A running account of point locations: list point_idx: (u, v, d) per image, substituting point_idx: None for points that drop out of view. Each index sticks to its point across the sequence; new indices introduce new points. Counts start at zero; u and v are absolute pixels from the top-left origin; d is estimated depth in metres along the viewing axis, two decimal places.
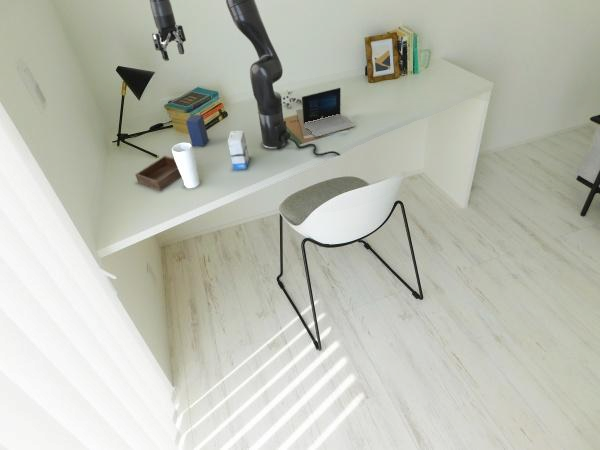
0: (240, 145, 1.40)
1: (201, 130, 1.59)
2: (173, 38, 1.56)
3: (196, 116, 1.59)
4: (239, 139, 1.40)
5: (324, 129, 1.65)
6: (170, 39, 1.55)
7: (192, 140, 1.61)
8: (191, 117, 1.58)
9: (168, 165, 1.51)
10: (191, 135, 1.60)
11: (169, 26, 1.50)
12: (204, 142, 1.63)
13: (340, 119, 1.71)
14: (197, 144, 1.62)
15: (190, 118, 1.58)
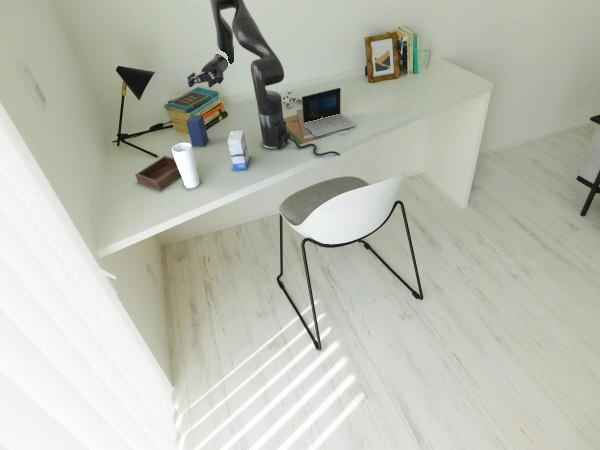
0: (240, 145, 1.40)
1: (201, 130, 1.59)
2: (207, 76, 1.64)
3: (196, 116, 1.59)
4: (239, 139, 1.40)
5: (324, 129, 1.65)
6: (203, 75, 1.65)
7: (192, 140, 1.61)
8: (191, 117, 1.58)
9: (168, 165, 1.51)
10: (191, 135, 1.60)
11: (205, 66, 1.67)
12: (204, 142, 1.63)
13: (340, 119, 1.71)
14: (197, 144, 1.62)
15: (190, 118, 1.58)
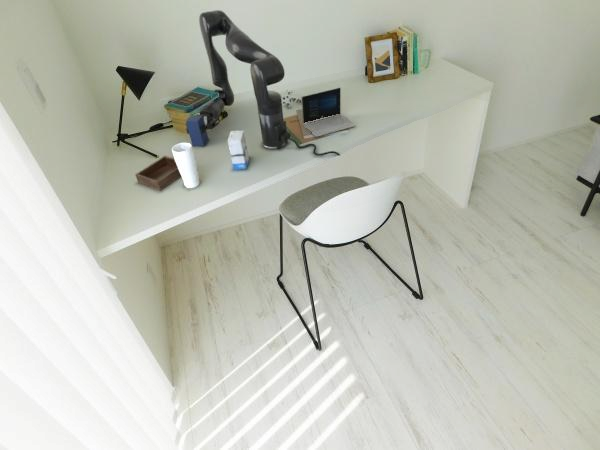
0: (240, 145, 1.40)
1: None
2: None
3: (196, 116, 1.59)
4: (239, 139, 1.40)
5: (324, 129, 1.65)
6: None
7: (192, 140, 1.61)
8: (191, 117, 1.58)
9: (168, 165, 1.51)
10: (191, 135, 1.60)
11: (201, 109, 1.66)
12: (204, 142, 1.63)
13: (340, 119, 1.71)
14: (197, 144, 1.62)
15: (190, 118, 1.58)
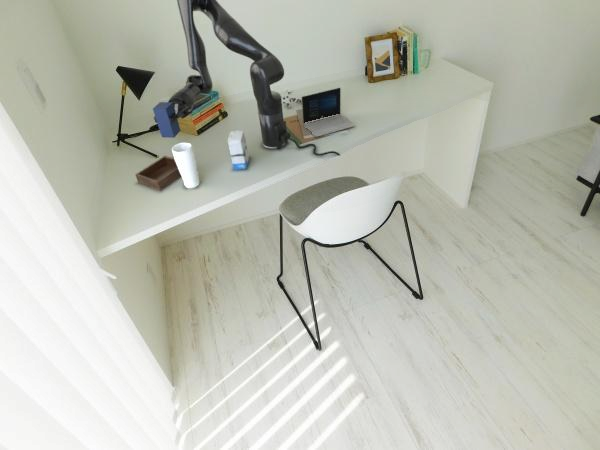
0: (240, 145, 1.40)
1: None
2: None
3: (165, 103, 1.40)
4: (239, 139, 1.40)
5: (324, 129, 1.65)
6: None
7: (161, 130, 1.43)
8: (159, 104, 1.40)
9: (168, 165, 1.51)
10: (160, 125, 1.42)
11: (172, 96, 1.48)
12: (175, 133, 1.44)
13: (340, 119, 1.71)
14: (167, 135, 1.44)
15: (158, 105, 1.39)
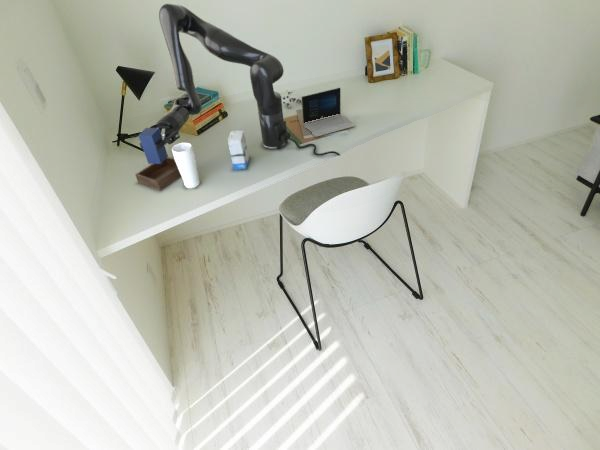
0: (240, 145, 1.40)
1: None
2: None
3: (151, 129, 1.36)
4: (239, 139, 1.40)
5: (324, 129, 1.65)
6: None
7: (147, 157, 1.39)
8: (145, 130, 1.36)
9: (168, 165, 1.51)
10: (146, 151, 1.37)
11: (159, 120, 1.43)
12: (162, 159, 1.40)
13: (340, 119, 1.71)
14: (153, 161, 1.40)
15: (144, 132, 1.35)
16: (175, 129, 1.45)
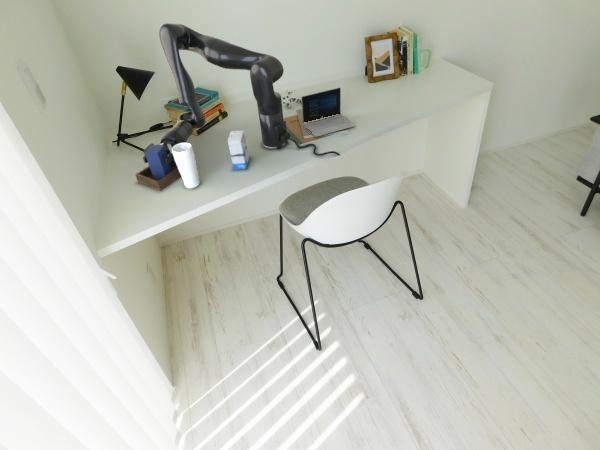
0: (240, 145, 1.40)
1: (163, 162, 1.41)
2: (166, 148, 1.44)
3: (157, 146, 1.40)
4: (239, 139, 1.40)
5: (324, 129, 1.65)
6: None
7: (153, 173, 1.43)
8: (151, 147, 1.40)
9: None
10: (151, 167, 1.41)
11: (164, 136, 1.47)
12: None
13: (340, 119, 1.71)
14: (159, 177, 1.44)
15: (150, 149, 1.39)
16: None
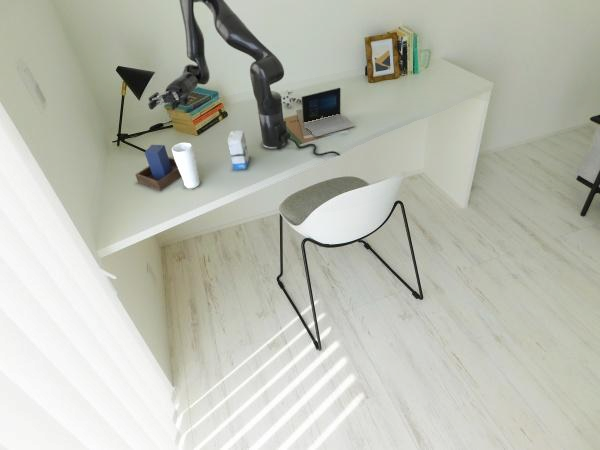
0: (240, 145, 1.40)
1: (163, 162, 1.41)
2: (171, 96, 1.45)
3: (157, 146, 1.40)
4: (239, 139, 1.40)
5: (324, 129, 1.65)
6: (167, 96, 1.45)
7: (153, 173, 1.43)
8: (151, 147, 1.40)
9: None
10: (151, 167, 1.41)
11: (169, 84, 1.48)
12: None
13: (340, 119, 1.71)
14: (159, 177, 1.44)
15: (150, 149, 1.39)
16: (184, 93, 1.49)
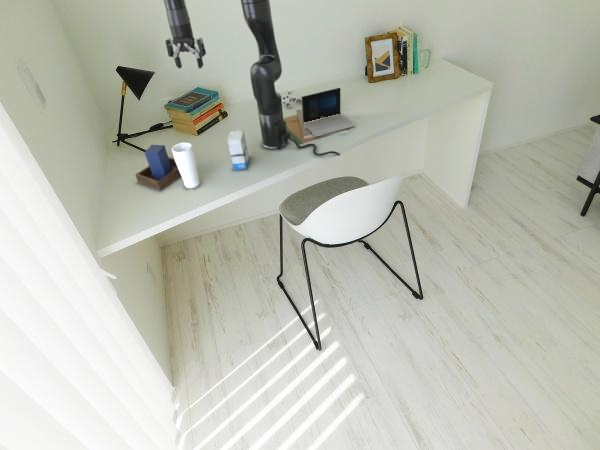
0: (240, 145, 1.40)
1: (163, 162, 1.41)
2: (187, 49, 1.47)
3: (157, 146, 1.40)
4: (239, 139, 1.40)
5: (324, 129, 1.65)
6: (183, 49, 1.47)
7: (153, 173, 1.43)
8: (151, 147, 1.40)
9: None
10: (151, 167, 1.41)
11: (174, 37, 1.42)
12: None
13: (340, 119, 1.71)
14: (159, 177, 1.44)
15: (150, 149, 1.39)
16: (191, 32, 1.44)
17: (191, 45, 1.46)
